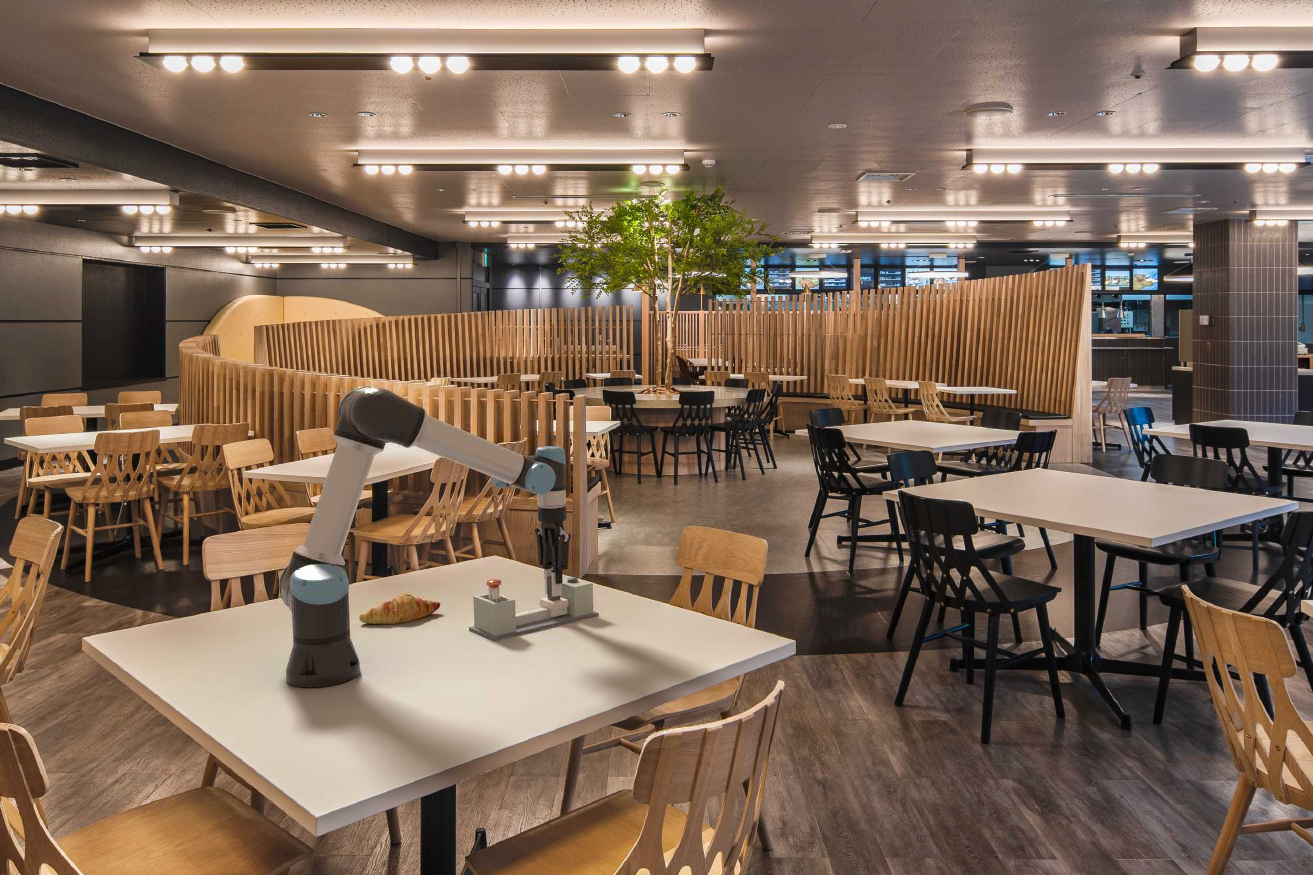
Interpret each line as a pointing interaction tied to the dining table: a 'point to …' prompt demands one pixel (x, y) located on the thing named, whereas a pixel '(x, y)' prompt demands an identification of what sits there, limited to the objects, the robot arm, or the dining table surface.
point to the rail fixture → (530, 612)
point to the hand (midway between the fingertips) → (553, 594)
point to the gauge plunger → (494, 589)
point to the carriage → (554, 601)
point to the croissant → (400, 610)
